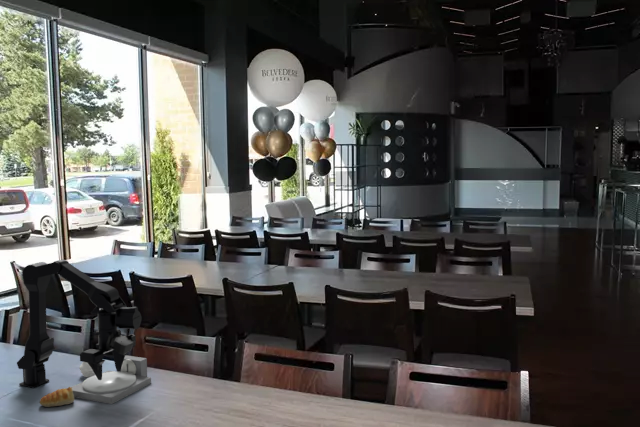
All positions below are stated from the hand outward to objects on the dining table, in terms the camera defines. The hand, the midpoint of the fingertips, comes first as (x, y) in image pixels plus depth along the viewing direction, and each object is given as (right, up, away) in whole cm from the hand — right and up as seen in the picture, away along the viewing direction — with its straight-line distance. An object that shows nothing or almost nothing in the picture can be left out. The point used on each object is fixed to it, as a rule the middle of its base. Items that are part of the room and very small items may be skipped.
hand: (109, 375), depth 181 cm
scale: (+1, -4, +2) cm, 5 cm away
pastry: (-14, -6, -10) cm, 18 cm away
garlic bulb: (-11, -4, +12) cm, 17 cm away
